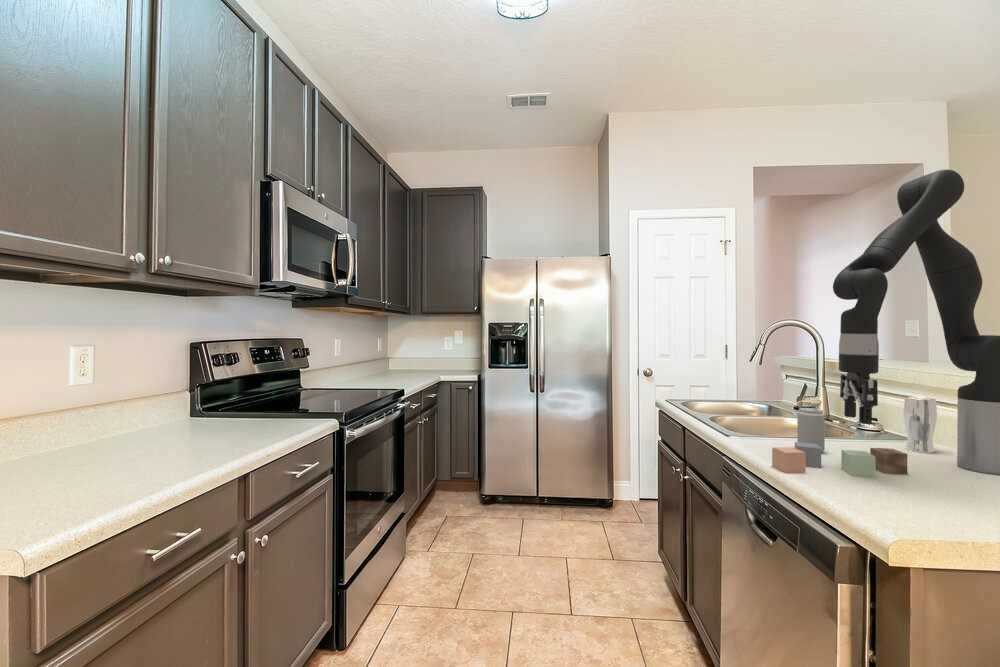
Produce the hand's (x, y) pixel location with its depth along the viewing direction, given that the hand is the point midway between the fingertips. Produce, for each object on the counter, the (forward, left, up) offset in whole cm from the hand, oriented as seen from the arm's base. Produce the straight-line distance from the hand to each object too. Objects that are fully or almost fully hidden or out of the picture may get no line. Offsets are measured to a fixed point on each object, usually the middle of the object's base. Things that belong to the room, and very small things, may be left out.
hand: (857, 420), depth 108 cm
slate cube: (+9, -5, -13) cm, 16 cm away
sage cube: (0, 0, -13) cm, 13 cm away
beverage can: (+4, -20, -13) cm, 24 cm away
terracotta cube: (+15, +2, -13) cm, 20 cm away
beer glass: (-26, -31, -13) cm, 43 cm away
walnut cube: (-8, -5, -13) cm, 16 cm away
